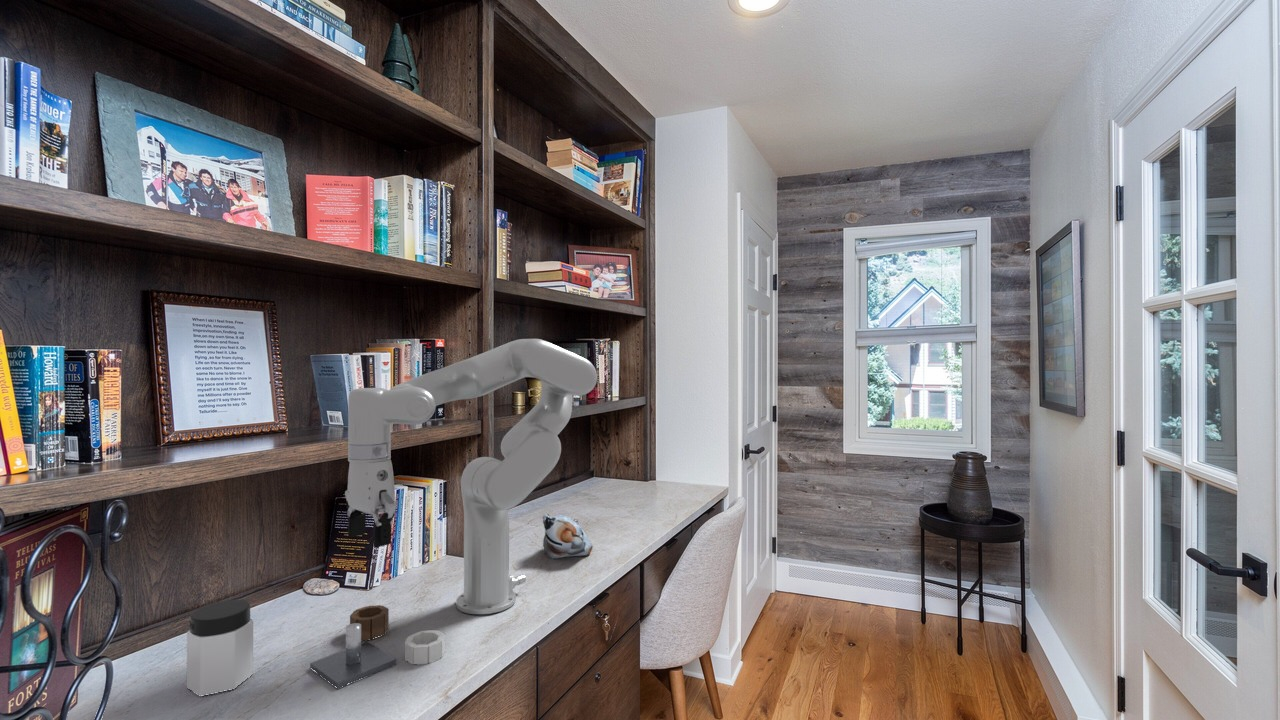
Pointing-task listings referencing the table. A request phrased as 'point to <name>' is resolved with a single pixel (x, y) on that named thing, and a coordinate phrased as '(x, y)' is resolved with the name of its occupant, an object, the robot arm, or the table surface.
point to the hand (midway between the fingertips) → (369, 540)
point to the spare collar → (424, 647)
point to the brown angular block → (371, 621)
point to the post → (353, 660)
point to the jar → (219, 647)
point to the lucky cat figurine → (564, 537)
